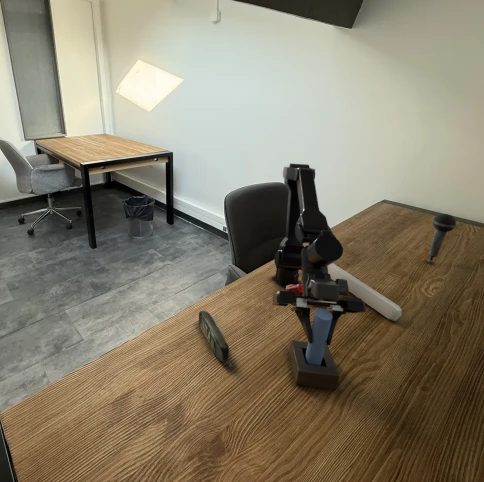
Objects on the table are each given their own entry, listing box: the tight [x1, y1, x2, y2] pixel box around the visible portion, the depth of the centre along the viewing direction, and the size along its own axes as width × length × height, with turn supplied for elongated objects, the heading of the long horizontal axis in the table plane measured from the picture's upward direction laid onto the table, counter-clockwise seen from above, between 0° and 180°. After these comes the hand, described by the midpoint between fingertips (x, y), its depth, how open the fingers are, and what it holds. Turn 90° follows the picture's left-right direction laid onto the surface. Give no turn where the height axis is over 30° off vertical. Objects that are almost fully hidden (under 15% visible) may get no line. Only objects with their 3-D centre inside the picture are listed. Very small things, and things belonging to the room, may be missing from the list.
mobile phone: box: [198, 310, 233, 369], centre depth 74 cm, size 5×3×15 cm
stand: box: [288, 340, 340, 390], centre depth 68 cm, size 8×8×4 cm
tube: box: [328, 262, 403, 322], centre depth 94 cm, size 5×5×25 cm
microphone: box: [427, 213, 457, 264], centre depth 111 cm, size 7×7×20 cm
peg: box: [305, 308, 332, 366], centre depth 66 cm, size 3×3×14 cm
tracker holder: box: [285, 283, 323, 301], centre depth 92 cm, size 12×4×10 cm
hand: (319, 344), depth 65 cm, fingers closed on peg, 3 cm apart
